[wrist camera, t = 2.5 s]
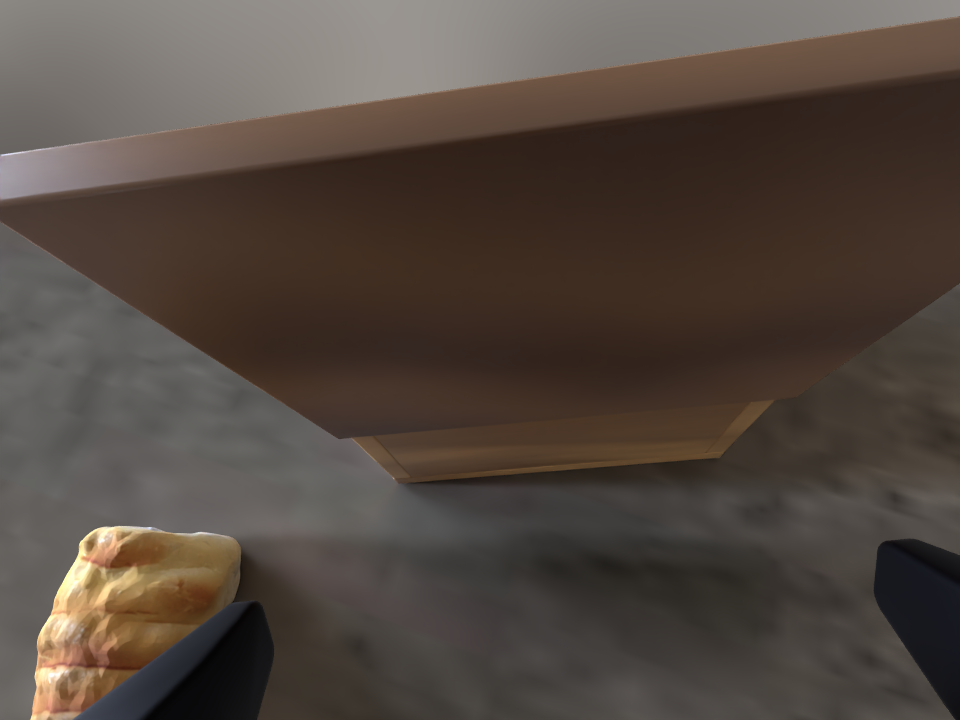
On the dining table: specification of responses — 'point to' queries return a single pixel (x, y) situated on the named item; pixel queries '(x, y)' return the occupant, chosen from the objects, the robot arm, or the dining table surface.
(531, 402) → the lid
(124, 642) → the pastry
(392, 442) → the caddy
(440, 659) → the dining table surface
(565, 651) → the dining table surface
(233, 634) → the robot arm
